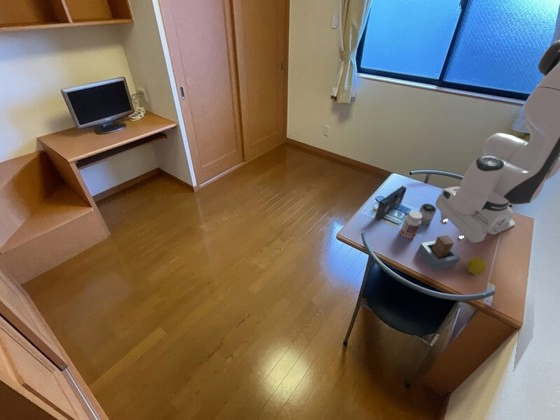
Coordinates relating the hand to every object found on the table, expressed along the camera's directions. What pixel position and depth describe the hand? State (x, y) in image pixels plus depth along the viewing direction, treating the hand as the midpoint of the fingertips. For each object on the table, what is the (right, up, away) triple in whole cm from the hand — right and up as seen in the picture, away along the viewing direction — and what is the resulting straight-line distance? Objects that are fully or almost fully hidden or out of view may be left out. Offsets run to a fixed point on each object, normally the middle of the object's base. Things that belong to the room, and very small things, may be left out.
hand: (451, 231), depth 103 cm
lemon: (+10, -16, +5) cm, 20 cm away
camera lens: (+3, +3, +27) cm, 27 cm away
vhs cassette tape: (-11, +7, +31) cm, 34 cm away
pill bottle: (-7, -2, +20) cm, 21 cm away
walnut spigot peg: (0, -11, +9) cm, 14 cm away
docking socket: (0, -11, +10) cm, 15 cm away
